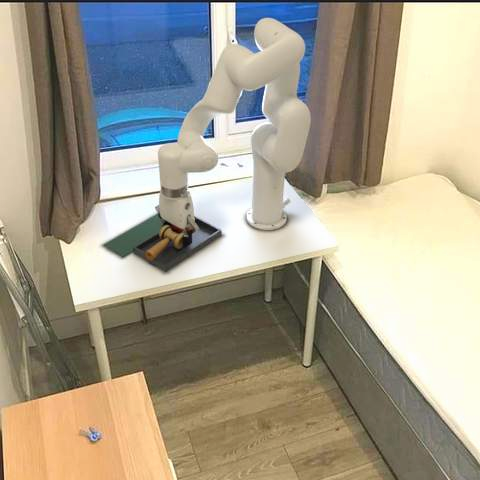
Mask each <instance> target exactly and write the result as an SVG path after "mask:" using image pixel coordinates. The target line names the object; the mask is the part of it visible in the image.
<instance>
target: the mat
mask: <svg viewBox="0 0 480 480" xmlns="http://www.w3.org/2000/svg"><path fill="white" fill-rule="evenodd" d="M162 227H163V224H161V219H160V218H159V216H158V213H156V214H154V215H153V216H151V217H149V218H147V219H146V220H144V221H143V222H141V223H139V224H137V225H135V226H133V227H132V228H130V229H129V230H127V231H125V232H123V233H121V234H120V235H118V236H116V237H114V238H112V239H110V240H109V241H107V242H106V243H104V244H103V247H105V248H106V249H108V250H110V251H112V253H115V254H116V255H118V256H120V258H121V257H122V258H125V257H127V256H128V255H130V254H132V253H133V247H134V246H136V245H137V244H139V243H141V242H142V241H144V240H146V239H147V238H149V237H151V236H152V235H154V234H156V233H157V232H159V231H160V230H161V229H162Z"/></svg>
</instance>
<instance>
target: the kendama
mask: <svg viewBox="0 0 480 480" xmlns="http://www.w3.org/2000/svg"><path fill="white" fill-rule="evenodd" d="M185 229H186V231H187V232H188V231H189V230H188V227H186V228H185ZM183 236H184V234H183V232H182V229H181V228H179V227H177V226H175V225H173V224H172V226H171V227H170V226H168V225H165V226H163V227H162V229H161V230H160V233H159V237H160V238H161V239H164V240H162V241H160V242H159V243H157V244H156V245H155V246H153V247H152V248H150V249H149V250H147V251H146V252H145V256H146V258H147V259H148V260H153V259H154V258H155V257H156V256H157V255H158V254H159V253H160V252H161V251H162V250H163V249H164V248H165V247H166V246H167V245H168V244H169V242H170V241H172V242H173V244H174V247H175V248H177V249H180V248H181V247H183Z"/></svg>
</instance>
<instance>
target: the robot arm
mask: <svg viewBox="0 0 480 480" xmlns="http://www.w3.org/2000/svg"><path fill="white" fill-rule="evenodd" d="M253 39H254V41H255V44H256V47H257V48H258V50H260V51H258V52H255V53H254V52H253V51H251V50H250V49H249V48H247V47H246V46H243V45H241V44H239V43H231V44H228V45H226V46H225V47H224V48H223V50H222V51H221V53H220V55H219V57H218V61H217V63H216V66H215V68H214V70H213V73H212V76H211V78H210V80H209V83H208V86H207V88H206V91H205V93H204V96H203V98H202V99H201V100H199V101H198V102H197V103H196V104H195V105H194V106H193V107H192V108H191V109H190V110H189V111H188V113H187V114H186V116H185V117H184V120H183V122H182V124H181V127H180V130H179V132H178V135H177V141H176V142H168V143H164V144H162V145H161V146H160V147H159V148H158V149H157V159H158V160H157V161H158V171H159V172H158V173H159V182H160V183H159V184H160V185H159V186H160V189H159V195H158V196H159V197H158V205H155V206H154V209H155V211H156V214H158V216H159V218H160V219H161V224H163V226H165V225H168V226H170V227H171V226H172V224H173V225H175V226H177V227H179V228H181V229H182V232H183V234H184V236H183V247H185V248H186V247H187V246H189V245H190V244H192V234H193V233H194V232H196V231H197V230H198V229H199V227H198V226H197V224H196V223H195V216H196V215H195V208H194V202H193V197H192V194H191V192H190V190H189V173H190V174H191V173H195V174H196V173H207V172H209V171H210V172H211V171H212V170H214V169H215V168H216V167H217V165H218V163H219V155H218V153H217V151H216V150H215V149H214V147H212V145H211V144H209V142H208V141H207V140H206V139H205V138H204V136H205V133H206V131H207V129H208V126H209V125H210V123H211V122H212V121H213V119H215V118H216V117H218V116H220V115H231V114H233V113H234V112H235V110H236V107H237V105H238V103H239V101H240V98H241V95H242V93H243V91H248V92H253V91H256V90H258V89H261V88H263V87H265V88H264V92H263V97H262V103H261V111H262V112H261V113H262V114H263V116H264V117H265V118H266V119H267V120H268V121H269V122H267V121H266V122H262V123H260V124H258V125H256V127H255V128H254V129H253V131H252V133H251V137H250V150H251V156H252V187H251V189H252V190H251V208H250V209H249V210H248V211H247V213H246V221H247V223H248V224H249V225H250V226H252V227H253V228H256V229H258V230H261V231H273V230H277V229H280V228H282V227H283V226H284V225H285V224H286V223H287V217H288V216H287V213H286V212H285V211H284V209H285V207H286V206H288V205H290V203H291V199H290V198H288V197H286V198H285V199H284V190H285V177H286V173H290V172H293V171H294V170H295V169H297V167H298V166H299V165H300V162H301V161H302V159H303V155H304V152H305V148H306V143H307V140H308V136H309V132H310V127H311V121H312V119H311V112H310V109H309V107H308V105H307V104H306V103H305V102H303V101H302V100H301V99H300V98H298V88H299V81H300V76H301V75H300V74H301V63H300V62H301V61H302V60H303V58H304V56H305V53H306V43H305V40H304V39H303V37H302V36H301V35H300V34H299V33H298V32H296V31H295V30H293V29H291V28H289V27H288V26H286V24H283V23H282V22H280V21H278V20H277V19H275V18H272V17H264V18H261V19H260V20H258V21H257V23H256V24H255V27H254V30H253ZM186 227H188V230H189V231H188V232H187V231H186V229H185V228H186Z"/></svg>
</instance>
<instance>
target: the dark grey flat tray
mask: <svg viewBox="0 0 480 480" xmlns="http://www.w3.org/2000/svg"><path fill="white" fill-rule="evenodd" d="M194 216H195V223H196V224H197V226H198V227H199V229H198V230H197V231H196V232H194V233H193V234H192V244H190V245H189V246H187V247H186V248H185V247H181V248H180V249H177V248H175V247H174V244H173V242H172V241H170V242H169V244H168V245H167V246H166V247H165V248H164V249H163V250H162V251H161V252H160V253H159V254H158V255H157V256H156V257H155V258H154V259H153V260H148V259H147V258H146V256H145V252H146V251H147V250H149V249H150V248H152V247H153V246H155V245H156V244H157V243H159V242H160V241H162V240H164V239H161V238H160V237H159V233H160V231H159V232H157V233H156V234H154V235H152V236H151V237H149V238H147V239H146V240H144V241H142V242H141V243H139V244H137V245H136V246H134V247H133V252H132V253H133V254H134V255H136V256H138V257H140V258H141V259H142V260H145V261H146V262H148V264H149V263H150V264H152V266H154V267H156V268H158V269H159V270H161V271H162V272H164V273H167V272H169V271H171V270H172V269H173V268H175V267H177V265H179V264H181V263H183V262H184V261H185V260H187V259H188V258H190V257H191V256H193V255H195V254H196V253H197V252H199V251H200V250H202V249H203V248H205V247H206V246H208V245H210V244H211V243H213V242H215V241H216V240H217V239H219V238H220V237H222V236H223V231H222V229H221V228H219V227H217V226H215V225H213V224H211V223H210V222H208V221H205V220H204V219H202V218H200V217H199V216H196V215H194Z"/></svg>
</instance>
